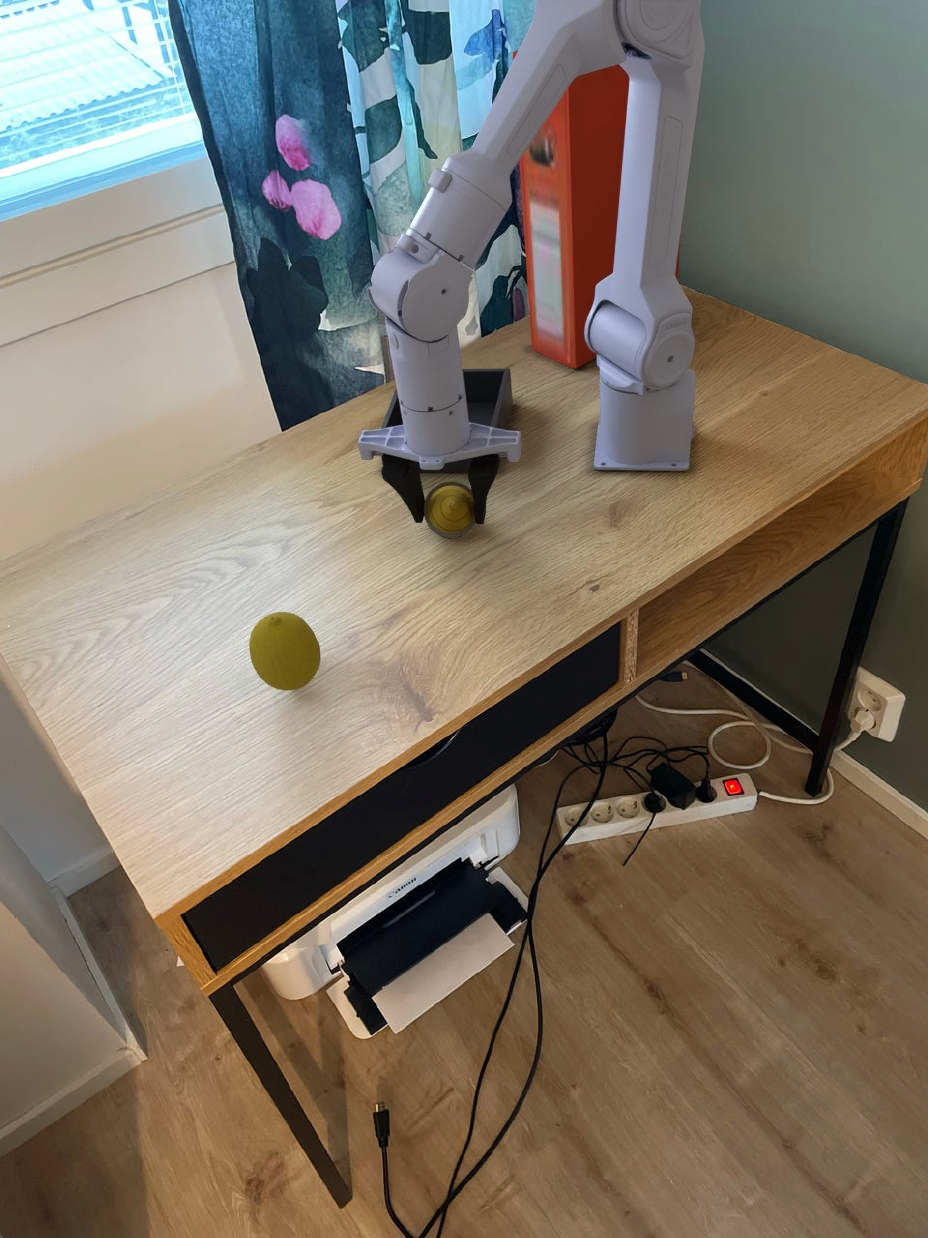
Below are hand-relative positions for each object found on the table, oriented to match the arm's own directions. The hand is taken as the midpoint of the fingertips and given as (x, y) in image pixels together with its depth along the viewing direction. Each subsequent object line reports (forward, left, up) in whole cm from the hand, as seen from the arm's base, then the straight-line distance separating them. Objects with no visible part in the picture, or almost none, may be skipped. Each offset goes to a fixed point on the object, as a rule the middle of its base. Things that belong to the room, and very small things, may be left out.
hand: (450, 517), depth 86 cm
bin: (+3, -16, -2) cm, 16 cm away
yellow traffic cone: (-1, 0, -2) cm, 2 cm away
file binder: (-13, -39, -2) cm, 41 cm away
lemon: (+10, +20, -2) cm, 22 cm away
